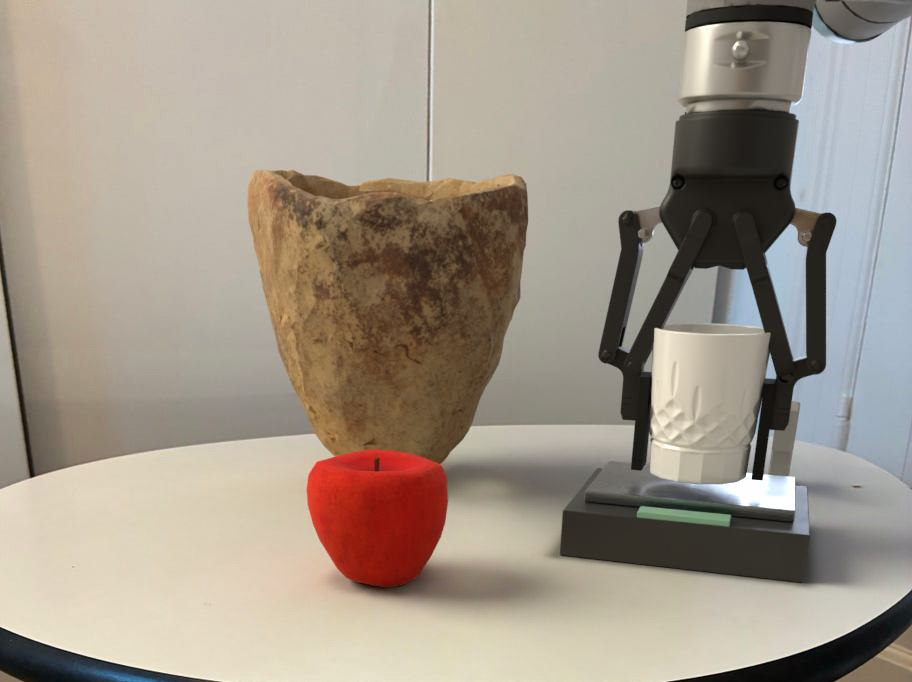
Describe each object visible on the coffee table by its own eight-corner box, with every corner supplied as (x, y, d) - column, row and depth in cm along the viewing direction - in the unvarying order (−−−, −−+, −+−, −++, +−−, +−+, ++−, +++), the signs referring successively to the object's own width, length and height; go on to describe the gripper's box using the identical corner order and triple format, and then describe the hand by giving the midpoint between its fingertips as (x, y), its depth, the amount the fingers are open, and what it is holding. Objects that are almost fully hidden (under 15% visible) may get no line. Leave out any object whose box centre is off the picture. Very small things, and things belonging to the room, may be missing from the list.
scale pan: (793, 487, 77) (795, 476, 77) (793, 522, 68) (795, 510, 67) (608, 470, 81) (608, 460, 80) (584, 501, 72) (584, 490, 71)
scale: (801, 527, 79) (808, 481, 77) (802, 582, 66) (811, 529, 65) (594, 506, 83) (597, 462, 82) (559, 555, 71) (562, 504, 69)
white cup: (618, 472, 73) (629, 327, 69) (683, 457, 78) (698, 321, 74) (711, 493, 68) (730, 337, 64) (776, 476, 73) (796, 330, 69)
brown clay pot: (244, 509, 80) (225, 158, 71) (275, 450, 101) (263, 172, 92) (528, 511, 81) (548, 165, 72) (501, 452, 102) (513, 177, 92)
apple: (310, 556, 69) (306, 441, 66) (439, 555, 70) (441, 441, 67) (307, 602, 61) (304, 473, 58) (453, 600, 62) (457, 472, 59)
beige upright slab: (767, 479, 93) (780, 390, 90) (787, 481, 93) (801, 391, 90) (764, 497, 87) (778, 402, 84) (785, 499, 86) (800, 404, 83)
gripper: (565, 108, 64) (544, 470, 72) (921, 101, 58) (852, 496, 67) (586, 119, 70) (565, 449, 79) (908, 114, 65) (847, 471, 73)
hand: (697, 470), depth 73 cm, fingers closed on white cup, 8 cm apart
